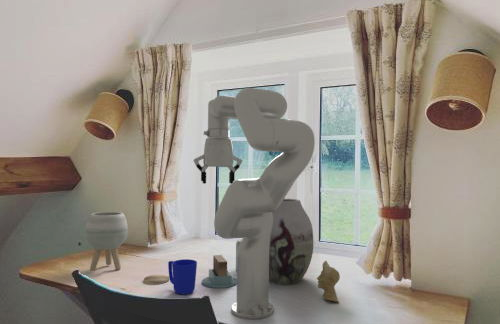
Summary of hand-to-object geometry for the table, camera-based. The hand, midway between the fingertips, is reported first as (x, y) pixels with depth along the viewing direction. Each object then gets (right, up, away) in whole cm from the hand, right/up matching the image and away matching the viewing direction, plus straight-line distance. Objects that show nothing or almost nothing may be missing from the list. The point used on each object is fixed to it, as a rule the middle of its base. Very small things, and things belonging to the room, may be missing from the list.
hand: (217, 183), depth 133 cm
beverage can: (+9, -37, +22) cm, 43 cm away
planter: (-47, -36, +20) cm, 63 cm away
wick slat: (-1, -30, +9) cm, 32 cm away
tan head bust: (+36, -37, -12) cm, 53 cm away
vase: (+24, -37, +8) cm, 45 cm away
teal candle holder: (0, -36, +4) cm, 37 cm away
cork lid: (-23, -37, +6) cm, 43 cm away
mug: (-12, -36, -5) cm, 39 cm away
